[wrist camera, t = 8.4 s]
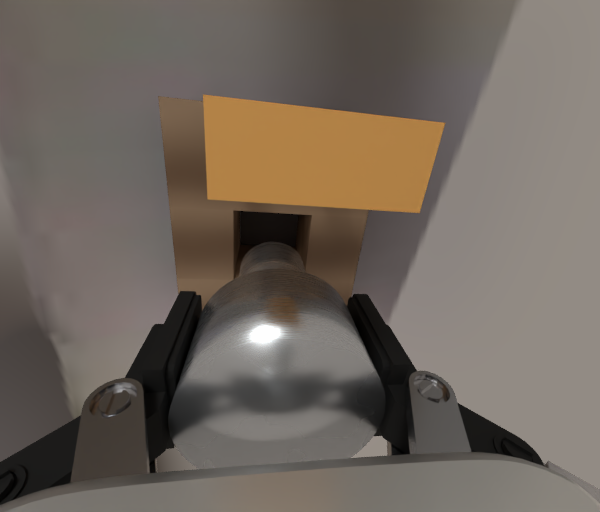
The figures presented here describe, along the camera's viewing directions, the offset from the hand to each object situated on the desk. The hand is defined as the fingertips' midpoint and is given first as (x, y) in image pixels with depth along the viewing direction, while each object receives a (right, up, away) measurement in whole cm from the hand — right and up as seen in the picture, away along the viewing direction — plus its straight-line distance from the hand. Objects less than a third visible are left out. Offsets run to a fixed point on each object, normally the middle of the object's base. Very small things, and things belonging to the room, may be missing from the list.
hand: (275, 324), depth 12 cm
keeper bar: (+1, +5, -4) cm, 7 cm away
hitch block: (-2, +6, +12) cm, 13 cm away
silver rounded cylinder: (-1, +2, +4) cm, 5 cm away
